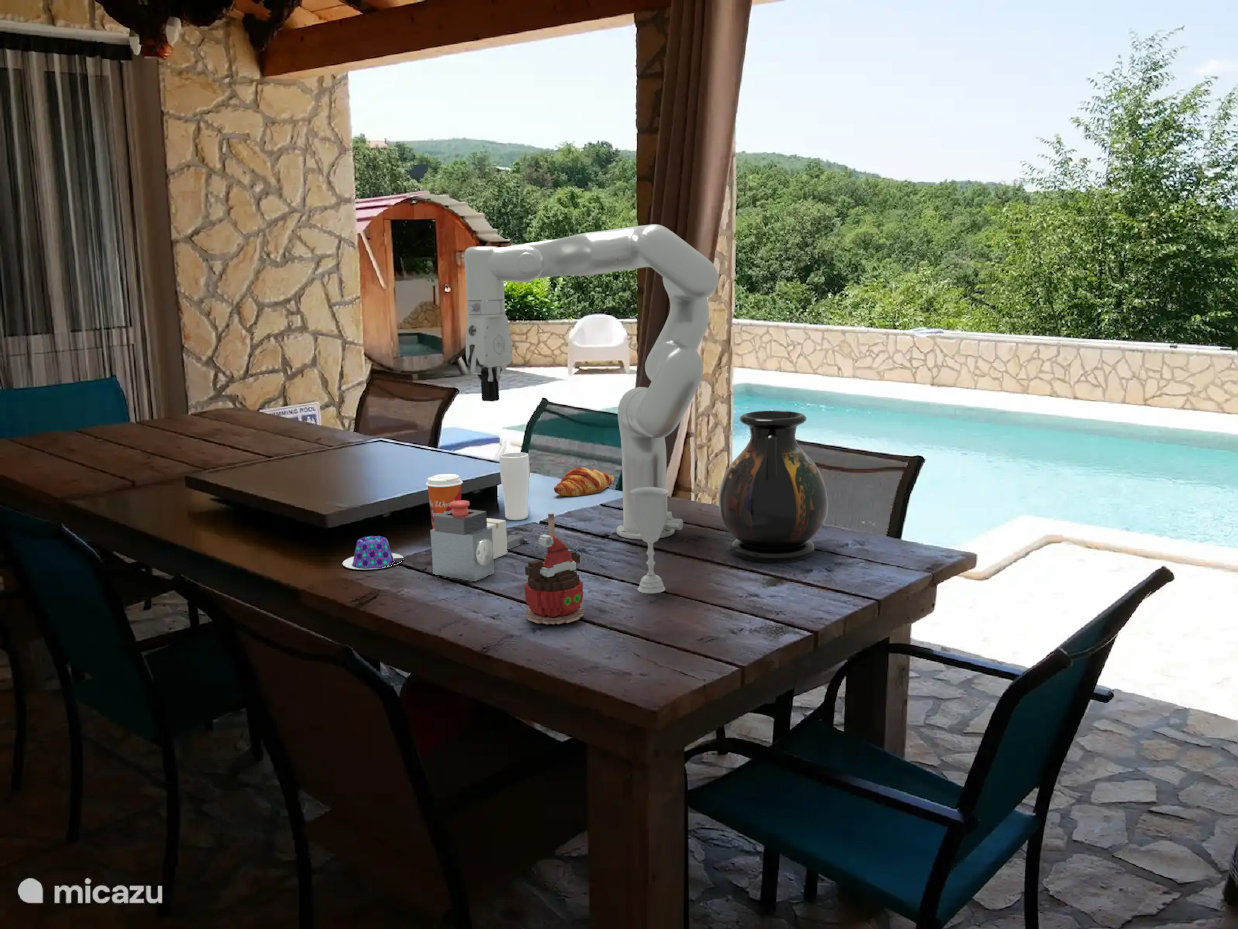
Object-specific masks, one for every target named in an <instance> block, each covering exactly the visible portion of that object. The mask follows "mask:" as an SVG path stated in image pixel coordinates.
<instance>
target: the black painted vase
mask: <svg viewBox="0 0 1238 929" xmlns="http://www.w3.org/2000/svg"><path fill="white" fill-rule="evenodd" d="M739 421H740V422H741V423H742V424H743V425H746V426H748V427H749V432H750V439H749V441H748V442H747V445H746V446H745V447H744V448H743V450H742V451H741V452H740V453H739V454H738V456H737V457H736V458H735V459H734V460H733V461H732V462H731V464H730V465H729V466H728V468H727V469H726V471H725V473H724V476H723V478H722V481H721V483H720V487H719V494H718V511H719V512H718V513H719V517H720V518H721V521H722V524H723V525H724V527H725V529H726V530H727V531H728V532H729V534H731V536H733V538H734V540H733V542H732V543H731V550H732V552H733V553H734V555H736V556H737V557H740V558H742V559H744V560H748V561H752V562H758V563H767V564H769V563H771V564H772V563H773V564H779V563H792V562H798V561H800V560H804V559H806V558H808V557H809V556H811V555H813V553H814V551H815V550H816V547H815V545H814V542H813V541H812V540H811V539H813V537H815V535H817V533H819V531H820V529H821V528H822V527H823V525H824V523H825V521H826V518H827V516H828V513H829V497H828V492H827V486H826V483H825V479H824V478H823V475H822V473H821V471H820V469H819V468H818V467H817V466H818V465H817V464H816V463H815V461H813V460H812V458H811V457H809V455H808V454H807V453H806V452H805V451H804V450H803V449H802V448H801V446H800V444H798V442H797V439H796V432H797V427H798V426H799V425H802V424H804V423H805V422H806V421H807V416H806V415H805V414H804V413H801V412H797V411H791V410H758V411H751V412H746V413H743V414H742V415H741V416H740V417H739Z"/></svg>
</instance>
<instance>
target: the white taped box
mask: <svg viewBox="0 0 1238 929" xmlns="http://www.w3.org/2000/svg"><path fill="white" fill-rule="evenodd" d="M487 527H488V528H492V540H493V560H495V559H498V558H499V557H502V556H505V555H508V550H507V535H508V534H507V519H500V518H499V519H496V518H491V517H489V518H488V517H487Z"/></svg>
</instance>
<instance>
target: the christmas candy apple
mask: <svg viewBox="0 0 1238 929" xmlns="http://www.w3.org/2000/svg"><path fill="white" fill-rule="evenodd" d="M547 517H548V518H547V519H548V534H540V535H539V537H538V545H539V546H541V547H543V548H546V554H545V558H543V559H544V560H541V559H533V560H531V561H528V562H527V566H525V567H524V573H525V576H527V582H526V583H525V586H524V596H525V597H524V598H525V599H524V600H525V602H526V604H527V605H528V609H527V611H526V613H525V616H526V618H527V620H528V621H530V622H534V623H536V624H545V625H550V624H551V625H556V624H557V625H561V624H564V623H566V624H568V623H573V622H575V621H579V620H580V618H581V617H584V608H582V606H581V604H582V603H583V599H584V589H583V588H584V587H583V586H584V585H583V584H584V582H583V581H581V579H580V574H578V572H576V570H577V568H578V564H580V563H581V555H580V554H579V553H578V552H577V551H574V550H569V547H568V546H567V545H565V543H564V542H562V540H561V539H560V538H559V537H557V536H555V533H556V532H555V513H552V512H550V513H547ZM543 561H544V562H543Z"/></svg>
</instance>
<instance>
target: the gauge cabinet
mask: <svg viewBox="0 0 1238 929" xmlns="http://www.w3.org/2000/svg"><path fill="white" fill-rule="evenodd" d="M487 518H488V517H487V510H478V509H469V508H468V515H466V516H463V517H458V516H452V510H450V511H447V512H444V513H441V514H438V515H435V516H434V524H435V529H433V528H432V529H430V530H429V531H430V544H431V546H430V547H431V558H432V559H431V561H432V563H431V564H432V575H433V574H435V575H444V576H445V575H446V576H450V577H455V578H463V579H468V580H472V581H476V582H478V581H477V580H478V579H480V578H483V579H485V578H487V577H486V576H488V575H490V576H492V575H493V574H492V573H494V574H495V563H494V561H495V559H493V540H492V528H488V527H487ZM491 574H492V575H491ZM484 577H485V578H484ZM488 577H489V576H488ZM472 581H471V582H472Z"/></svg>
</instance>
